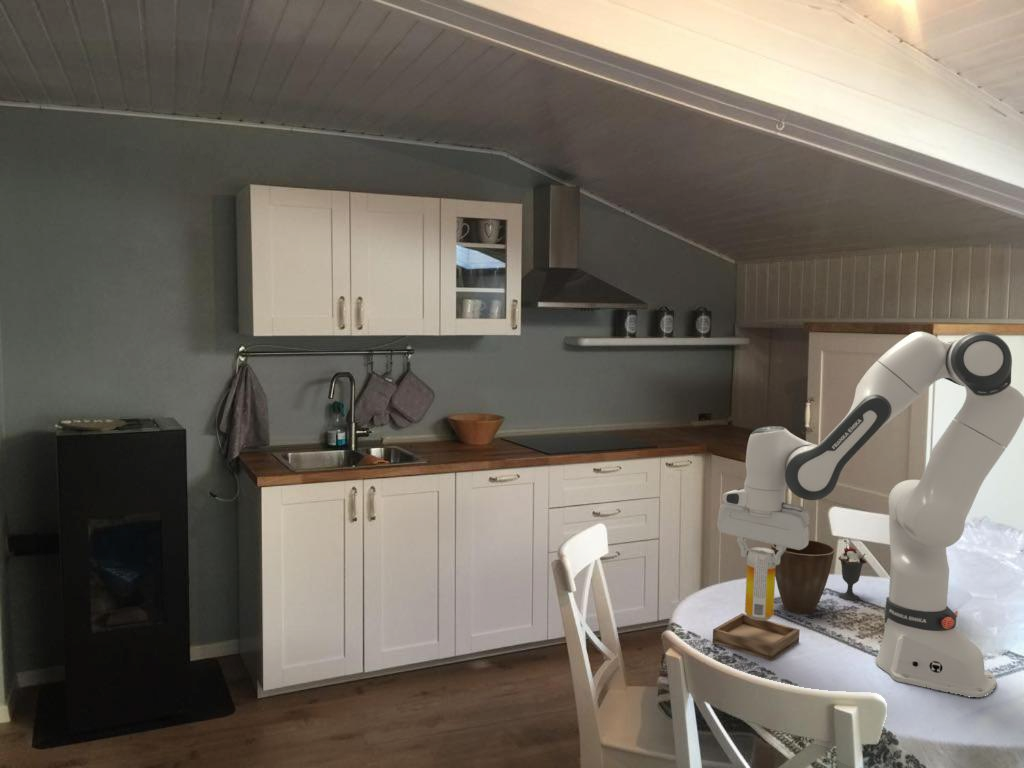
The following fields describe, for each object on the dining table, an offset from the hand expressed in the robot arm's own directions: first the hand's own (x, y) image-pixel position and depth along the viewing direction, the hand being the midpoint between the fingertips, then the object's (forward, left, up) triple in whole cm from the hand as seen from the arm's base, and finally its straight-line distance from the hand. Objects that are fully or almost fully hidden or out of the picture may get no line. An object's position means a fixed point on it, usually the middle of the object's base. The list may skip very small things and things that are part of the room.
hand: (760, 560), depth 192 cm
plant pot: (+2, -28, -19) cm, 34 cm away
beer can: (-1, 0, -13) cm, 13 cm away
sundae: (-4, -46, -19) cm, 50 cm away
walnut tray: (0, 0, -19) cm, 19 cm away
